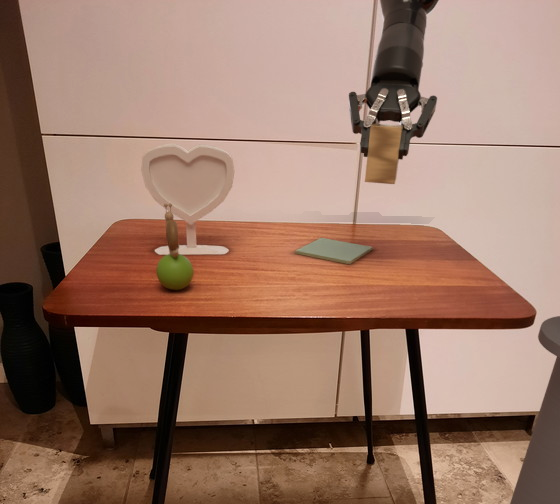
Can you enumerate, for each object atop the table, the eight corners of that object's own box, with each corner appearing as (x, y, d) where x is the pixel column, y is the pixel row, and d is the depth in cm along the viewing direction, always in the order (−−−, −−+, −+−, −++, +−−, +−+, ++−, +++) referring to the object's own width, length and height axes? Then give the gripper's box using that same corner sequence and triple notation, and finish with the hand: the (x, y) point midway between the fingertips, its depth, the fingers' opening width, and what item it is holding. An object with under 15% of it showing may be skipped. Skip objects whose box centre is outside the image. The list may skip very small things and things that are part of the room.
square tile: (372, 250, 105) (372, 246, 104) (349, 264, 96) (350, 261, 96) (321, 240, 109) (321, 237, 109) (295, 253, 101) (295, 250, 101)
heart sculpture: (147, 254, 97) (138, 146, 88) (149, 246, 102) (141, 142, 93) (235, 254, 99) (234, 148, 91) (233, 246, 104) (232, 144, 95)
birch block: (396, 179, 88) (403, 124, 84) (394, 184, 84) (402, 127, 80) (367, 177, 88) (373, 123, 84) (364, 182, 84) (370, 125, 81)
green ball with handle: (189, 279, 87) (186, 202, 81) (196, 293, 81) (193, 212, 76) (155, 282, 85) (148, 203, 79) (160, 296, 80) (153, 213, 74)
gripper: (353, 42, 84) (335, 134, 80) (448, 45, 82) (434, 140, 77) (353, 81, 92) (337, 167, 87) (441, 84, 89) (428, 174, 85)
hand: (383, 154), depth 82 cm, fingers closed on birch block, 4 cm apart
